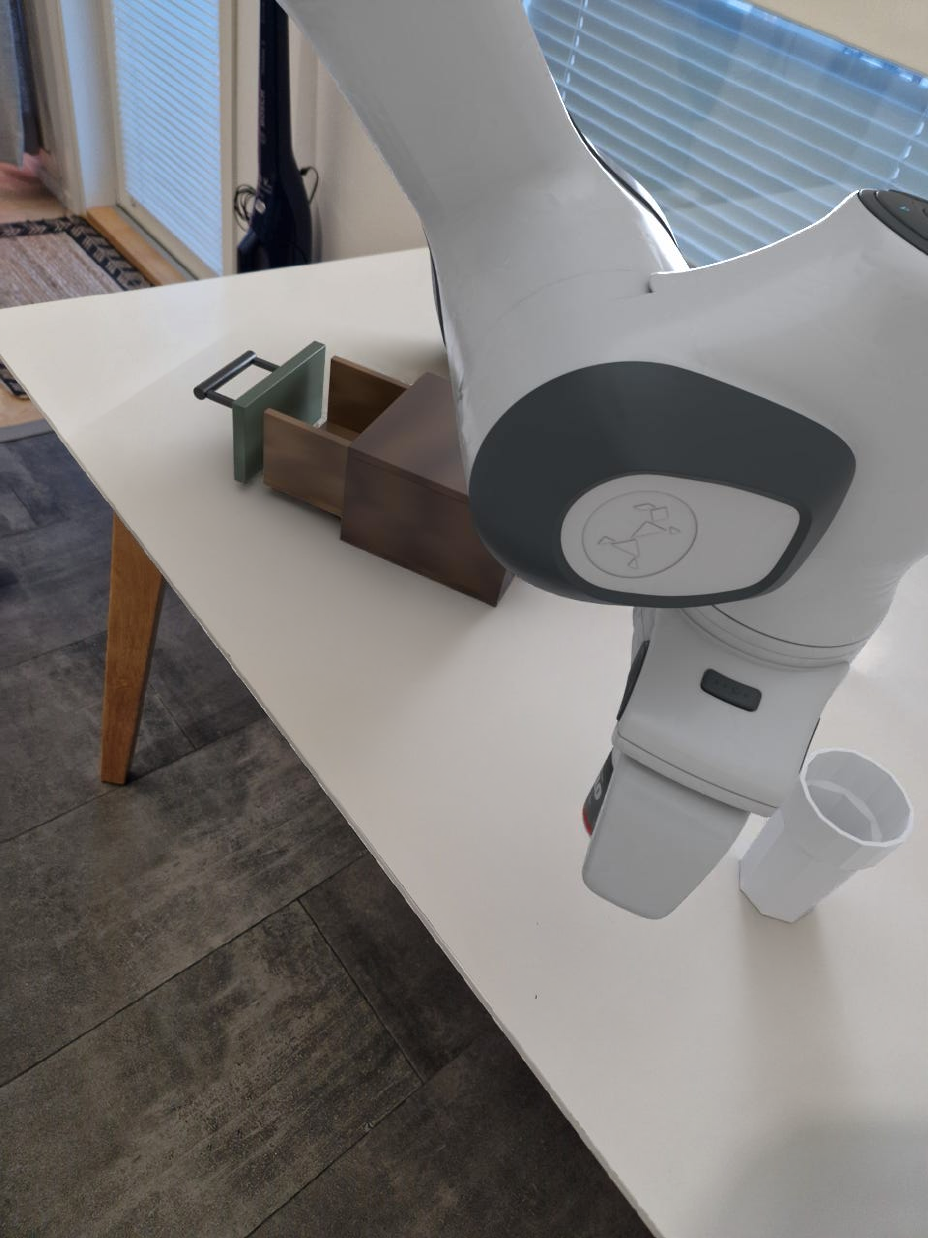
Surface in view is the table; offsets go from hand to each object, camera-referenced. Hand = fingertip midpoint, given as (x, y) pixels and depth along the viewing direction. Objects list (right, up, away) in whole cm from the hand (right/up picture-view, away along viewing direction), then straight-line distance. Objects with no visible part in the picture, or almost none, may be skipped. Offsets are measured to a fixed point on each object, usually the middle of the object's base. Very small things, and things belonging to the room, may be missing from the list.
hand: (638, 794), depth 46 cm
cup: (+11, -8, +11) cm, 18 cm away
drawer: (-23, +24, +33) cm, 47 cm away
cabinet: (-10, +17, +31) cm, 37 cm away
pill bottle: (-1, -2, +2) cm, 3 cm away
